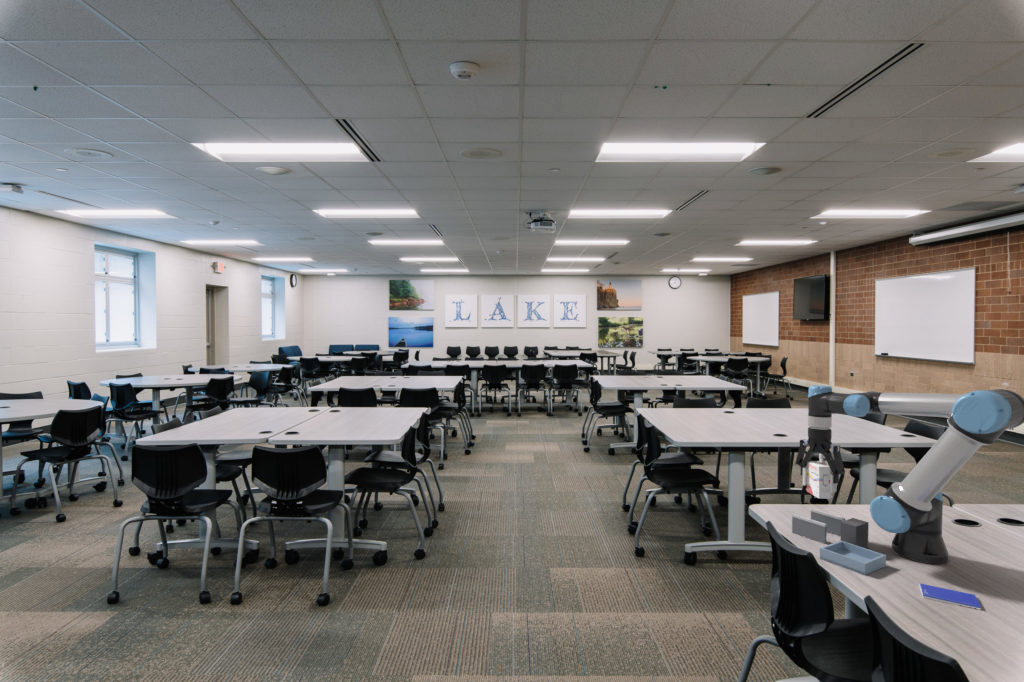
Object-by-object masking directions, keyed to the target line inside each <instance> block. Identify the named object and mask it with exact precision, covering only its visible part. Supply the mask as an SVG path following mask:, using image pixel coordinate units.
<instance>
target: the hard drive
mask: <svg viewBox="0 0 1024 682" xmlns="http://www.w3.org/2000/svg"><path fill="white" fill-rule="evenodd" d="M918 587H919V590H920V593H921V597H922V598H923V599H926V600H931V601H936V602H941V603H946V604H950V605H955V606H959V605H962V606H961V607H963V606H967V607H966V608H968V606H969V607H974V608H980V609H982V607H981V604H980V602H979V600H978V598H977V596H976V595H975V594H973V593H968V592H964V591H963V592H962V591H959V590H955V589H953V590H952V589H950V588H945V587H939V586H935V585H929V584H925V583H919V586H918Z"/></svg>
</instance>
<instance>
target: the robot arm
mask: <svg viewBox="0 0 1024 682" xmlns="http://www.w3.org/2000/svg"><path fill="white" fill-rule="evenodd" d="M807 399H808V400H807V404H808V409H807V411H808V413H807V426H808V428H807V437H808V438H807V439H806V438H805V439H800V440H799V448H798V451H797V455H796V458H795V465H797V466H799V467H800V476H802V486H807V462H808V461H812V460H811V459H812V457H814V455H815V454H817V453H818V454H819V453H820V454H822V455H823V456H824V457H825V458H824V460H825V461H827V463H828V465H829V467H830V469H831V471H832V474H830V492H832V494H834V493H836V492H837V484H839V482H840V475H841V474H845V473H846V470H845V466H844V462H843V459H842V454H841V445H839V444H837V445H836V444H833V443H832V435H833V432H832V431H833V430H832V425H833V424H832V421H833V420H832V417H833V416H832V415H833V414H836V415H843V416H850V417H853V418H854V417H860V418H861V417H866V415H867V414H883V415H884V414H886V415H900V416H901V415H903V416H917V417H918V416H919V417H920V416H921V417H937V418H947V420H946V421H947V425H948V428H946V430H945V431H944V432H943V433H942V435H941V436H940V437H939V438H938V439H937V441H936V442H935V443H934V444H933V445H932V446H931V447H930V449H929V450H928V451H927V452H926V454H924V455H923V457H922V458H921V459H920V460H919V461H918V462H917V463H916V465H915V466H914V467H913V468H912V470H911V471H910V472H909V473H908V474H907V475H906V476H905V478H903V480H902V481H901V482H899V481H895V482H893V483H892V484H891V485H890V486H889V487H888V488H887V490H886V491H885V492H884V493H883V494H882V495H878V496H876V497H875V498H873V499H872V500H871V502H870V504H869V512H870V517H871V519H872V520H873V522H874V523H875V524H876V525H877V526H878V527H879V528H880V529H882V530H883V531H885V532H888V533H891V534H895V535H894V536H893V538H892V542H891V550H892V551H893V553H895V554H896V555H899V556H900V557H903V558H905V559H908V560H912V561H914V562H915V561H916V562H919V563H924V564H932V565H938V564H939V565H940V564H941V565H942V564H946V563H948V562H949V551H948V549H947V546H946V543H945V540H944V538H943V504H944V500H943V493H942V491H941V490H942V489H943V488H944V487H945V486H946V485H947V484H948V483H949V482H950V480H951V479H952V478H953V477H954V476H955V475H956V474H957V472H959V471H960V469H962V468H963V466H964V465H965V464H966V463H967V462H968V461H969V460H970V458H972V457H973V456H974V454H975V453H976V452H978V450H979V449H980V447H982V446H991V445H993V444H994V443H995V441H996V440H998V438H999V437H1000V436H1001V435H1002V434H1003V433H1004V432H1005V431H1006V430H1010V429H1014V428H1017V427H1019V426H1021V425H1022V424H1024V397H1023V396H1022V395H1020V394H1019V393H1017V392H1015V391H1013V390H1010V389H1004V388H996V389H994V388H993V389H987V390H986V389H985V390H982V389H981V390H973V391H971V392H967V393H929V392H928V393H925V392H923V393H922V392H920V393H919V392H886V391H884V392H880V391H866V392H865V391H864V392H851V393H839V392H835V391H833V387H832V386H829V385H822V384H821V385H816V384H814V385H810V386H809V387H808V395H807ZM808 446H809V448H808V450H807V447H808ZM806 451H807V452H806ZM831 451H832V452H831ZM805 453H806V454H805ZM832 454H833V455H832ZM830 458H831V459H830Z"/></svg>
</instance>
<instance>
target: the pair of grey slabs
mask: <svg viewBox="0 0 1024 682" xmlns="http://www.w3.org/2000/svg"><path fill="white" fill-rule="evenodd" d="M791 516H792V517H791V518H792V520H791V526H792V527H791V533H792V534H795V535H798V536H801V537H803V536H805V537H804V538H806V537H807V539H810V540H813V541H815V542H818V543H822V544H827V535H828V534H827V533H829V534H832V535H835V536H838V537H841V522H842V521H845V520H846V518H845V517H842V516H839V515H836V514H832V513H829V512H825V511H821V510H820V509H819V510H818V509H815V508H811V509H810V518H808V517H805V516H802V515H798V514H797V513H793V514H792V515H791Z"/></svg>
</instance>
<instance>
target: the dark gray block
mask: <svg viewBox="0 0 1024 682" xmlns="http://www.w3.org/2000/svg"><path fill="white" fill-rule="evenodd" d="M839 541H844V542H847V543H850V544H853V545H857V546H860V547H863V548H867V549H869V522H868V521H865V520H862V519H858V518H854V517H851V518H848V519H845V521H842V522H841V536H840V540H839Z"/></svg>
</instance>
